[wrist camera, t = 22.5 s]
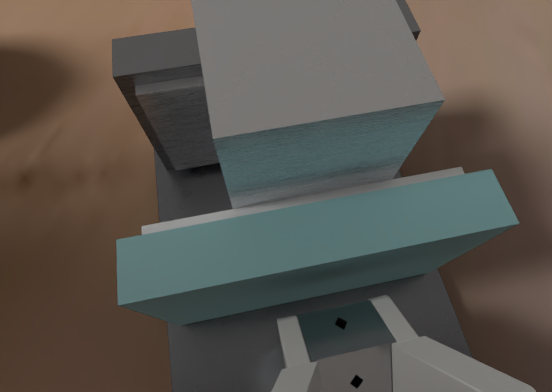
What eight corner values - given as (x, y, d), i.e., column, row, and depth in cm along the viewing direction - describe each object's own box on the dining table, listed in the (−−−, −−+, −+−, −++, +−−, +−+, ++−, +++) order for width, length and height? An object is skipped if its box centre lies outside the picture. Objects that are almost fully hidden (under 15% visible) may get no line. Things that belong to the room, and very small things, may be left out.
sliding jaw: (428, 272, 14) (519, 223, 9) (179, 325, 14) (117, 305, 8) (410, 226, 15) (484, 156, 10) (175, 273, 14) (115, 224, 9)
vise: (529, 542, 12) (829, 761, 5) (199, 637, 11) (93, 1037, 5) (366, 110, 19) (412, -14, 13) (159, 145, 18) (96, 30, 12)
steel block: (230, 166, 16) (187, -22, 8) (325, 149, 17) (372, -46, 9) (247, 260, 15) (212, 138, 6) (352, 239, 15) (445, 99, 7)
